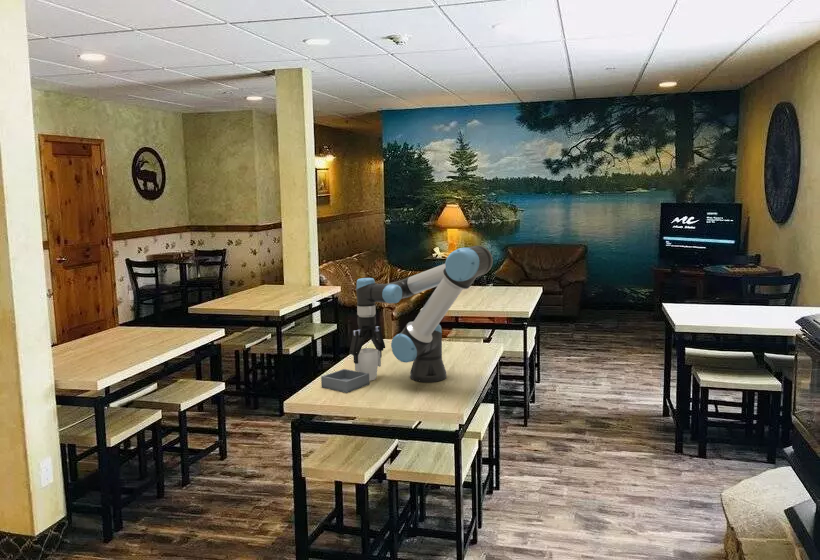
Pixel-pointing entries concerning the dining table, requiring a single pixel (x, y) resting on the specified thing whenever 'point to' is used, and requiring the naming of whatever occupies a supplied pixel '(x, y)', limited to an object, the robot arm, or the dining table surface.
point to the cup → (369, 362)
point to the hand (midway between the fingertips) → (368, 368)
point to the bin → (345, 380)
